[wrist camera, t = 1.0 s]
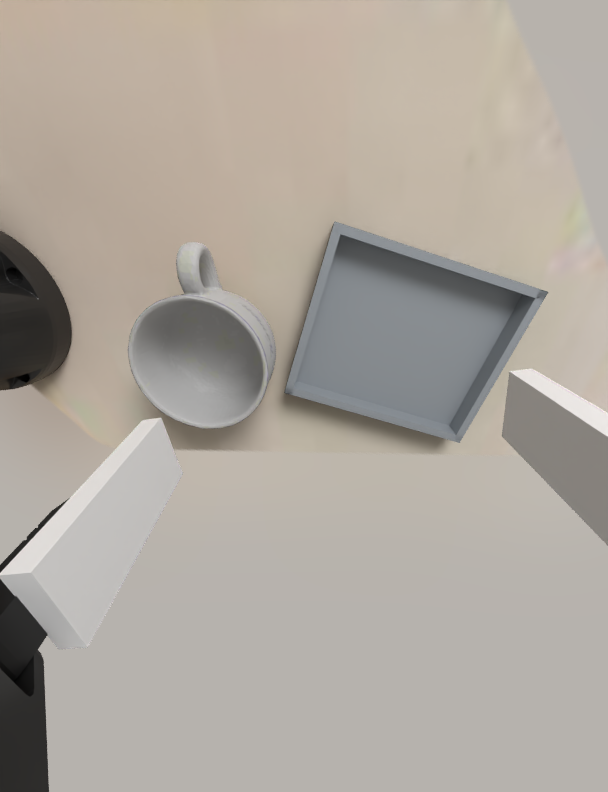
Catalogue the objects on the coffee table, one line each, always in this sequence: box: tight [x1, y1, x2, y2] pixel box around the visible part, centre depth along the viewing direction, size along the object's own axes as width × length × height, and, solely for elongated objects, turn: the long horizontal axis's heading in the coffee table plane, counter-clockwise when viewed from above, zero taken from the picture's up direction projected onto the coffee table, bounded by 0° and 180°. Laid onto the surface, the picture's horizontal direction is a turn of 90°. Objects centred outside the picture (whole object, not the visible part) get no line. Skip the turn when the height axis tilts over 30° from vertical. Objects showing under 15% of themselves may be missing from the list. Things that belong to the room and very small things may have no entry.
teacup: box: [128, 242, 276, 429], centre depth 28 cm, size 14×11×8 cm
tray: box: [284, 222, 548, 443], centre depth 30 cm, size 18×15×2 cm
